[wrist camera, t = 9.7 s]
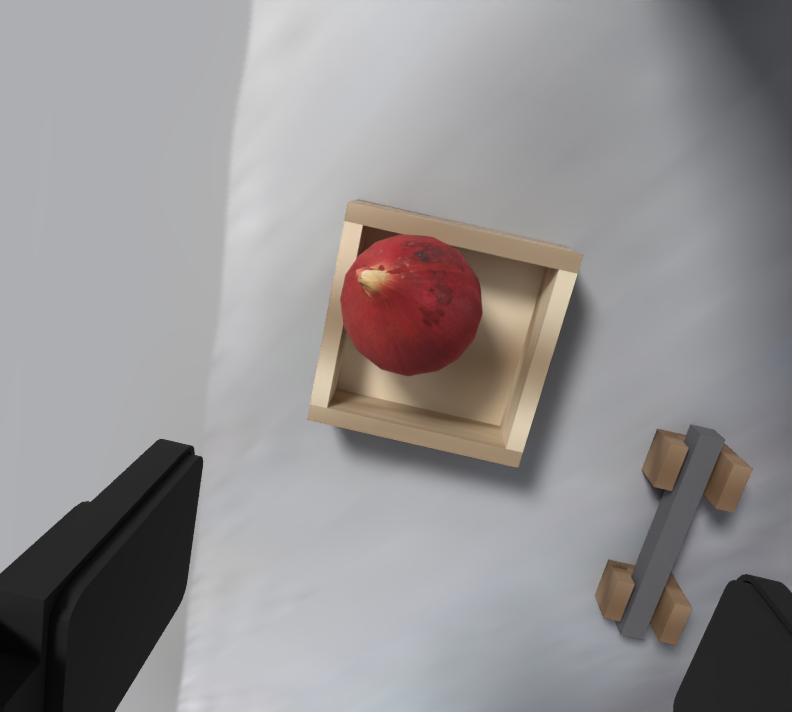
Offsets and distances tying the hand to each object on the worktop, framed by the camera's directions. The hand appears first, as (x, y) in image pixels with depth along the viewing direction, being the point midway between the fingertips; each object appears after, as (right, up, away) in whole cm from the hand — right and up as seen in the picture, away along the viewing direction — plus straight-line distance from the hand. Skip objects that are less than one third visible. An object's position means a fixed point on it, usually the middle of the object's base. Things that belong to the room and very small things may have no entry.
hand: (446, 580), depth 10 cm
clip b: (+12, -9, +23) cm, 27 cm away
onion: (+1, +5, +18) cm, 19 cm away
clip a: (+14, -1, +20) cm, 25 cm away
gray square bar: (+13, -5, +22) cm, 26 cm away
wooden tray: (+1, +6, +19) cm, 20 cm away
